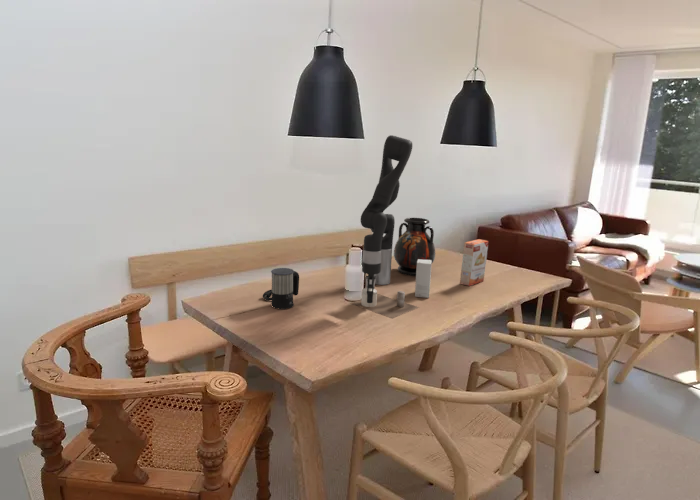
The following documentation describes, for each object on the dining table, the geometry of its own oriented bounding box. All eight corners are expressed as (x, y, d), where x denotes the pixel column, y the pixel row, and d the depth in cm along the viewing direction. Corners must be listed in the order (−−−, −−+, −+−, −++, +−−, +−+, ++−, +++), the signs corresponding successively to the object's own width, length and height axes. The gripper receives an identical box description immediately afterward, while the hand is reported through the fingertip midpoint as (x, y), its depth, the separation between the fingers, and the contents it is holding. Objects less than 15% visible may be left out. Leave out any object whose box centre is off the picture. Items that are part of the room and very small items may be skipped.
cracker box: (470, 286, 228) (474, 244, 223) (459, 283, 232) (463, 242, 227) (484, 281, 238) (489, 240, 233) (474, 278, 242) (478, 238, 237)
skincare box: (428, 298, 209) (431, 264, 206) (413, 296, 210) (416, 262, 207) (429, 292, 217) (432, 259, 214) (415, 291, 218) (417, 258, 215)
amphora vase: (385, 273, 245) (388, 219, 239) (403, 264, 263) (406, 214, 257) (423, 280, 235) (428, 225, 228) (440, 271, 252) (444, 219, 246)
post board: (349, 306, 195) (350, 289, 193) (377, 297, 208) (378, 280, 206) (392, 322, 181) (393, 303, 179) (419, 310, 194) (420, 293, 192)
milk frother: (288, 311, 188) (288, 275, 184) (252, 305, 192) (251, 270, 188) (301, 299, 201) (302, 266, 198) (267, 295, 205) (267, 262, 202)
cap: (358, 304, 194) (359, 290, 193) (368, 300, 199) (368, 287, 197) (369, 307, 190) (370, 293, 189) (379, 304, 195) (379, 290, 193)
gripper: (381, 265, 183) (379, 305, 187) (381, 257, 197) (379, 294, 200) (361, 264, 183) (360, 304, 187) (362, 256, 197) (361, 293, 201)
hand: (369, 299), depth 194 cm, fingers open, 8 cm apart
